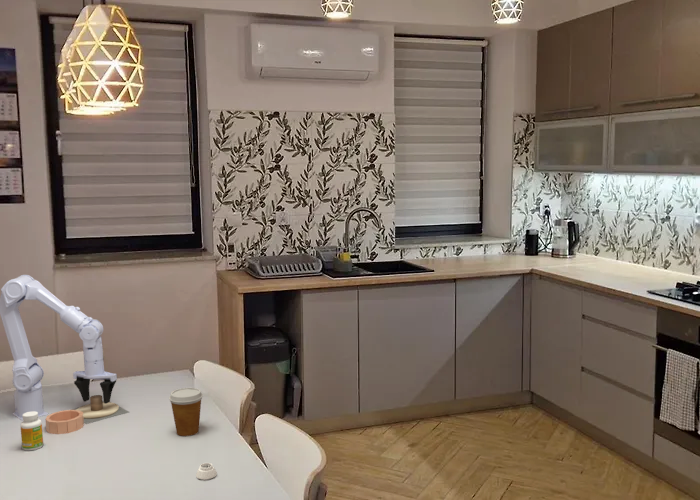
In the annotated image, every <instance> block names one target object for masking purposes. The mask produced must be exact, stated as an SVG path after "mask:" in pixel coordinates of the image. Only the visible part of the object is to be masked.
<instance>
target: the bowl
mask: <svg viewBox="0 0 700 500" xmlns="http://www.w3.org/2000/svg"><path fill="white" fill-rule="evenodd" d="M84 426H85V423H84V415H83V412H81V411H80V410H71V409H65V410H60V411H59V410H58V411H55V412H52V413H51V414H48V415H46V417H45V430H46V431H45V432H47V433H49V434H51V435H52V434H53V435H65V434H71V433H73V432H77V431H79V430H81V429H83V428H84Z"/></svg>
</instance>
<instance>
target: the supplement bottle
mask: <svg viewBox="0 0 700 500" xmlns="http://www.w3.org/2000/svg"><path fill="white" fill-rule="evenodd" d="M22 417H23V420H24V421H22V422H20V435H21V438H20V439H21V449H22V450H23V451H36V450H40V448H42V447H43V446H44V437H43V435H44V434H43V424H42V423H43V422H42V420H41V419H39V417H38V412H35V411H31V412H26V413H24V414H23V415H22Z"/></svg>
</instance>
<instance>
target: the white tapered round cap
mask: <svg viewBox="0 0 700 500" xmlns="http://www.w3.org/2000/svg"><path fill="white" fill-rule="evenodd" d="M217 472H218V471H217V470H216V468H215V467H214V466H213V463H211V462H204V463H201V464H200V465H199V468H198V469H197V472H196V474H195V476H196V478H197V479H199V480H201V481H202V480H203V481H205V480H211V479H214V478H215V477H216V476H217V475H218V473H217Z"/></svg>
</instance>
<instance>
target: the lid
mask: <svg viewBox="0 0 700 500" xmlns="http://www.w3.org/2000/svg"><path fill="white" fill-rule="evenodd" d="M89 401H90V403H88V404H85V405H82V406H80V407H77V408H78V409H76V410H80V411H81V412H83V415H84V419H97V418H103V417H107V416H110V415H112V414H114V413H116V412H117V411H118V410H119V407H120V406H119V405H118V404H117V403H115V402H112V401H110V402H108V403H104V402H103V401H104V400H103V394H102V395H101V394H95V395H91V396H89Z"/></svg>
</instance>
